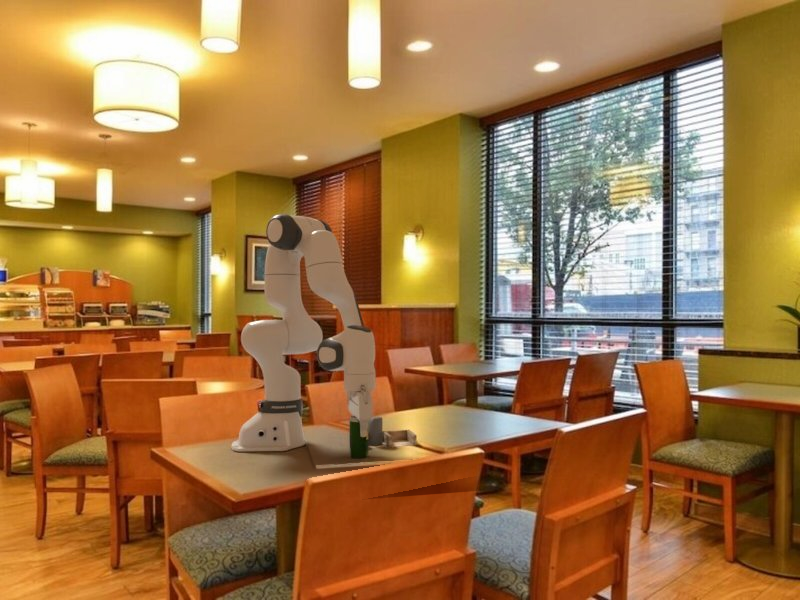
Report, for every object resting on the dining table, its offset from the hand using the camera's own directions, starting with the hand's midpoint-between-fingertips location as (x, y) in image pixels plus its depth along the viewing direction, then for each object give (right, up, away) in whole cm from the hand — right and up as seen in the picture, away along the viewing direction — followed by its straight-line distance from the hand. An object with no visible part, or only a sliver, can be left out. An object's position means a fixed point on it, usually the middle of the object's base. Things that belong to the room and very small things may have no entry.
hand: (360, 433), depth 166 cm
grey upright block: (+3, -7, +15) cm, 17 cm away
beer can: (0, -8, 0) cm, 8 cm away
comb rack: (+7, -8, +16) cm, 19 cm away
